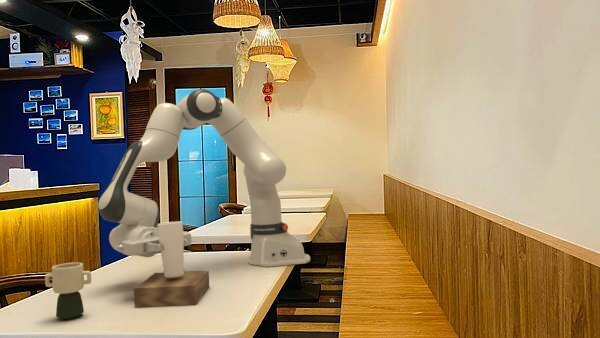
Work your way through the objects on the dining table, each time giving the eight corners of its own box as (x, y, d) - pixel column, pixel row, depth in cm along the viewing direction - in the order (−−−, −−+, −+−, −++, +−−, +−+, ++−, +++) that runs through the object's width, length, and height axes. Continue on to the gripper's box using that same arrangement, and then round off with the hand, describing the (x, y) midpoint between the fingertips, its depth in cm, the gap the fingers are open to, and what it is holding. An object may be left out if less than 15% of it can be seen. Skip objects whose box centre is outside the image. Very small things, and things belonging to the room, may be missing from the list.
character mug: (97, 311, 126) (94, 260, 126) (88, 319, 119) (86, 266, 119) (52, 314, 124) (50, 263, 124) (41, 323, 117) (38, 269, 117)
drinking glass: (180, 278, 132) (175, 223, 132) (157, 279, 133) (152, 224, 134) (190, 273, 139) (186, 220, 139) (168, 274, 140) (164, 222, 140)
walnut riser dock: (209, 287, 145) (208, 270, 145) (195, 304, 127) (194, 285, 127) (155, 289, 145) (155, 272, 145) (134, 307, 127) (133, 288, 127)
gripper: (112, 236, 137) (139, 239, 128) (174, 226, 152) (202, 229, 143) (113, 258, 137) (140, 263, 128) (175, 246, 152) (203, 250, 143)
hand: (173, 245), depth 136 cm, fingers closed on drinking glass, 6 cm apart
